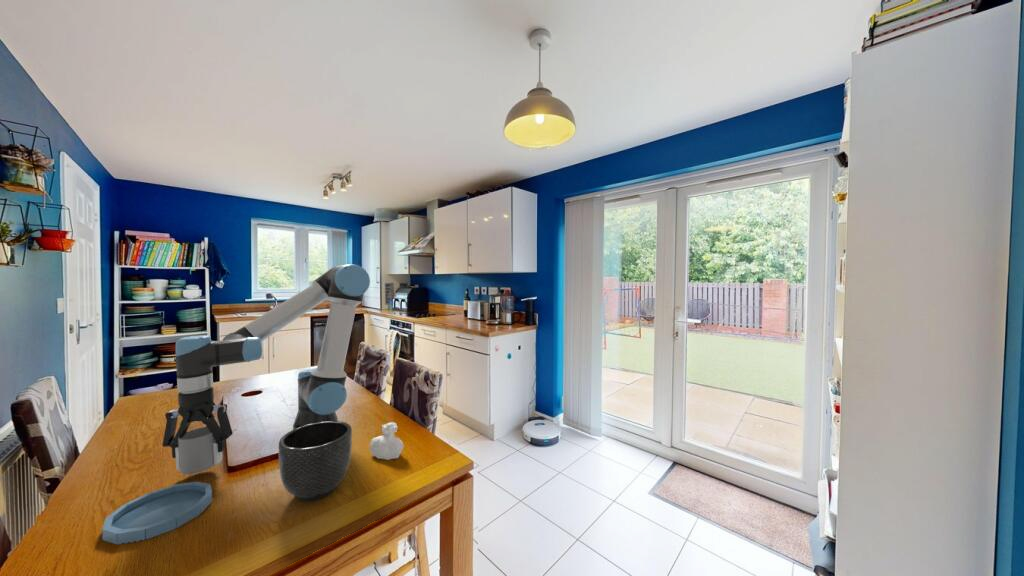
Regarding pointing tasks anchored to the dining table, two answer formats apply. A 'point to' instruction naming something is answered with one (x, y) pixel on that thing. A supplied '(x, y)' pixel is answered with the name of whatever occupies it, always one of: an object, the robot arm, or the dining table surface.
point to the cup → (196, 451)
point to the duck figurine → (387, 443)
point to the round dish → (157, 512)
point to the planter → (315, 458)
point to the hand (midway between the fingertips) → (200, 464)
